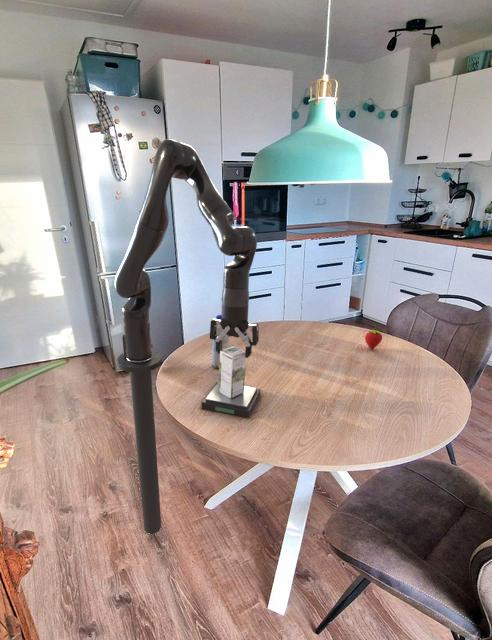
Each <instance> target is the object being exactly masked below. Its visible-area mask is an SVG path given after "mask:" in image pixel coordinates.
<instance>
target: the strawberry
mask: <svg viewBox="0 0 492 640" xmlns="http://www.w3.org/2000/svg"><path fill="white" fill-rule="evenodd" d="M374 327H375V329H376V330H375V329H372V330H368V332H366V333H365V336H364V340H365V343H366V345H367V346H368V347H369V349H370V350H375V348H376V347H378V345H379V344H381V342H382V340H383V335H382V333H381V331H379V330H377V327H376V326H374Z"/></svg>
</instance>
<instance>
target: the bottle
mask: <svg viewBox="0 0 492 640" xmlns="http://www.w3.org/2000/svg"><path fill="white" fill-rule="evenodd" d="M215 318H217V319H218V320H221V319H222V314H217V315H216V316H215ZM222 331H223V329H222V327H221V325H220V324H219V325H218V326H217V332H216V334H217V335H218V336H219V335H220V333H221V332H222ZM229 338H230V336H228V335H227V334H225V335H224V336H223V338H222V339H221V340H222V350H224V349H227V348H229V342H230V341H229V340H230V339H229ZM211 343H212V344H211V365H212V366H213V368H215V369H216V368H217V369H219V367H220V354H218V352H217V351H216V341H215V340H214V339H211Z"/></svg>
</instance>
